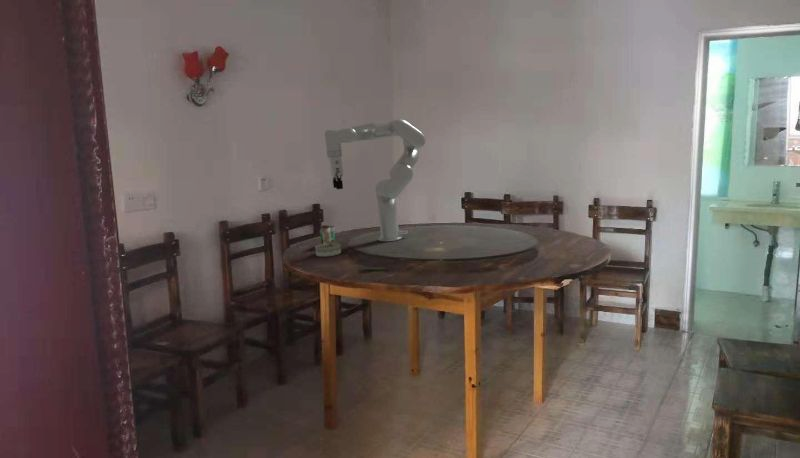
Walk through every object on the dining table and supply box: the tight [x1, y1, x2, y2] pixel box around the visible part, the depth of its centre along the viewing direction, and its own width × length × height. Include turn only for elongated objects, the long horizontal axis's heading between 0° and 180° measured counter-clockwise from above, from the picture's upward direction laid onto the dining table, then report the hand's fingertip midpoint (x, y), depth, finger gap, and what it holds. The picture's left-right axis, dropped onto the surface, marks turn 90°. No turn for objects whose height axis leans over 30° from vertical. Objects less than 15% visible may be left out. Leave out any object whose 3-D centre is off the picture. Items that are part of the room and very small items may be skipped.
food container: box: [319, 225, 336, 245], centre depth 328 cm, size 12×6×10 cm, turn 168°
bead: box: [314, 242, 342, 257], centre depth 308 cm, size 12×12×4 cm
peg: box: [321, 224, 332, 247], centre depth 307 cm, size 4×4×14 cm
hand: (338, 188), depth 317 cm, fingers open, 9 cm apart
